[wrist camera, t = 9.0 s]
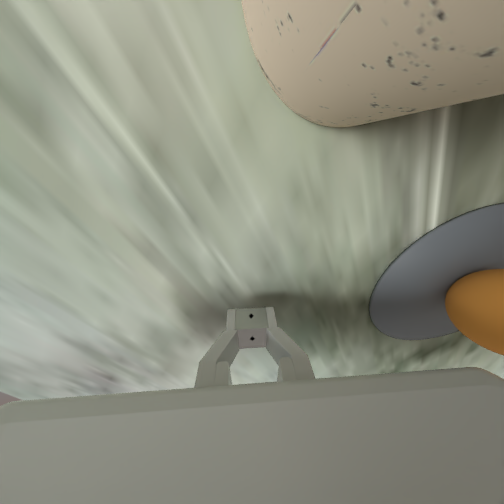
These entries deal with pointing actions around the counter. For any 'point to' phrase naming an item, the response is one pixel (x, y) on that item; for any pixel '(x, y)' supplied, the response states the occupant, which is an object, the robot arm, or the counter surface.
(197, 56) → the counter surface
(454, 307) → the ball
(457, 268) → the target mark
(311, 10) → the teacup with lid
